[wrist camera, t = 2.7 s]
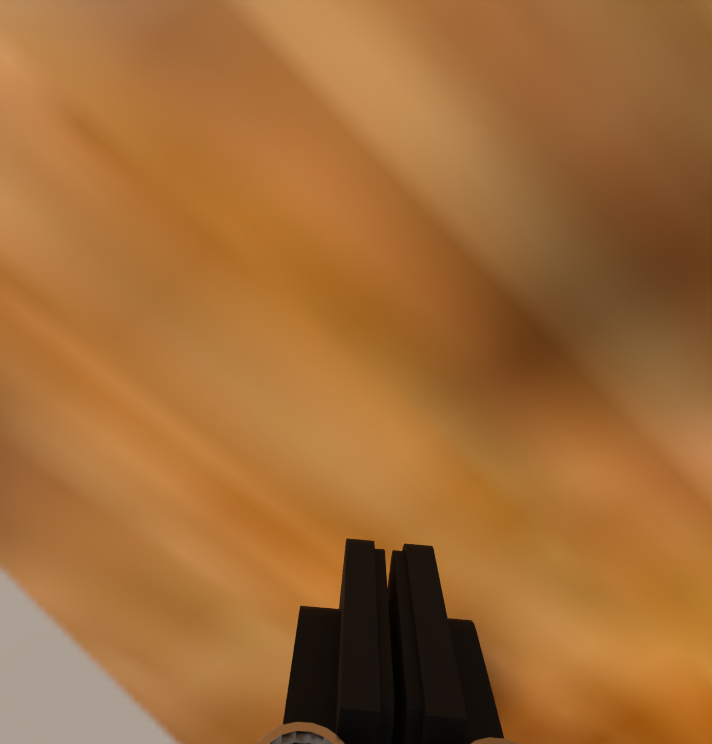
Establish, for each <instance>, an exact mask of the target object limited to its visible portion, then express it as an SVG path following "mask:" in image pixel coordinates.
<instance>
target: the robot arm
mask: <svg viewBox="0 0 712 744" xmlns="http://www.w3.org/2000/svg"><path fill="white" fill-rule="evenodd" d="M257 744H519V743H516V742H513V741H510V740H507V739H504V736H503V732H502V728H501V724H500V720H499V717H498V713H497V709H496V705H495V701H494V697H493V693H492V690H491V686H490V682H489V678H488V674H487V670H486V666H485V663H484V659H483V655H482V651H481V647H480V643H479V639H478V636H477V632H476V628H475V625H474V623H473V622H472V621H471V620H461V619H449V618H447V614H446V609H445V604H444V599H443V594H442V589H441V584H440V579H439V574H438V569H437V564H436V559H435V554H434V549H433V547H432V546H426V545H414V544H404V546H403V550H402V551H395V550H393V552H392V557H391V565H390V573H389V580H388V588H387V576H386V561H385V550H384V549H375V545H374V541H369V540H357V539H346V546H345V555H344V565H343V575H342V585H341V594H340V604H339V609H331V608H319V607H308V606H300V611H299V617H298V624H297V631H296V638H295V645H294V652H293V659H292V666H291V672H290V679H289V686H288V693H287V700H286V707H285V714H284V721H283V725H281V726H279V727H277V728H275V729H273V730H271V731H269V732H268V733H267V734H266V735H264V736H263V737H262V738H261V739H260V740H259V741H258V742H257Z"/></svg>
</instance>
